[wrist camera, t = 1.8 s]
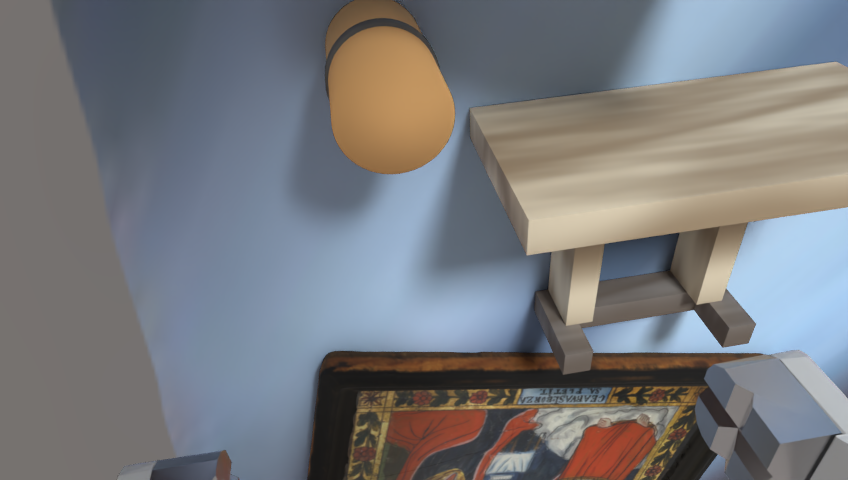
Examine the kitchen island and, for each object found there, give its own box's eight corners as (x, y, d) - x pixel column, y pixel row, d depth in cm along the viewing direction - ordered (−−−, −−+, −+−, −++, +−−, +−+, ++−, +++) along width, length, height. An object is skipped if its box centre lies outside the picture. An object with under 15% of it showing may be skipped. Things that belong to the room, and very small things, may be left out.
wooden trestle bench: (469, 108, 27) (528, 220, 20) (836, 61, 29) (1011, 150, 22) (472, 319, 35) (515, 453, 28) (757, 274, 37) (866, 389, 30)
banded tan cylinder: (314, -1, 23) (317, 64, 18) (420, -12, 24) (456, 47, 18) (331, 100, 26) (338, 184, 20) (426, 88, 26) (459, 167, 21)
